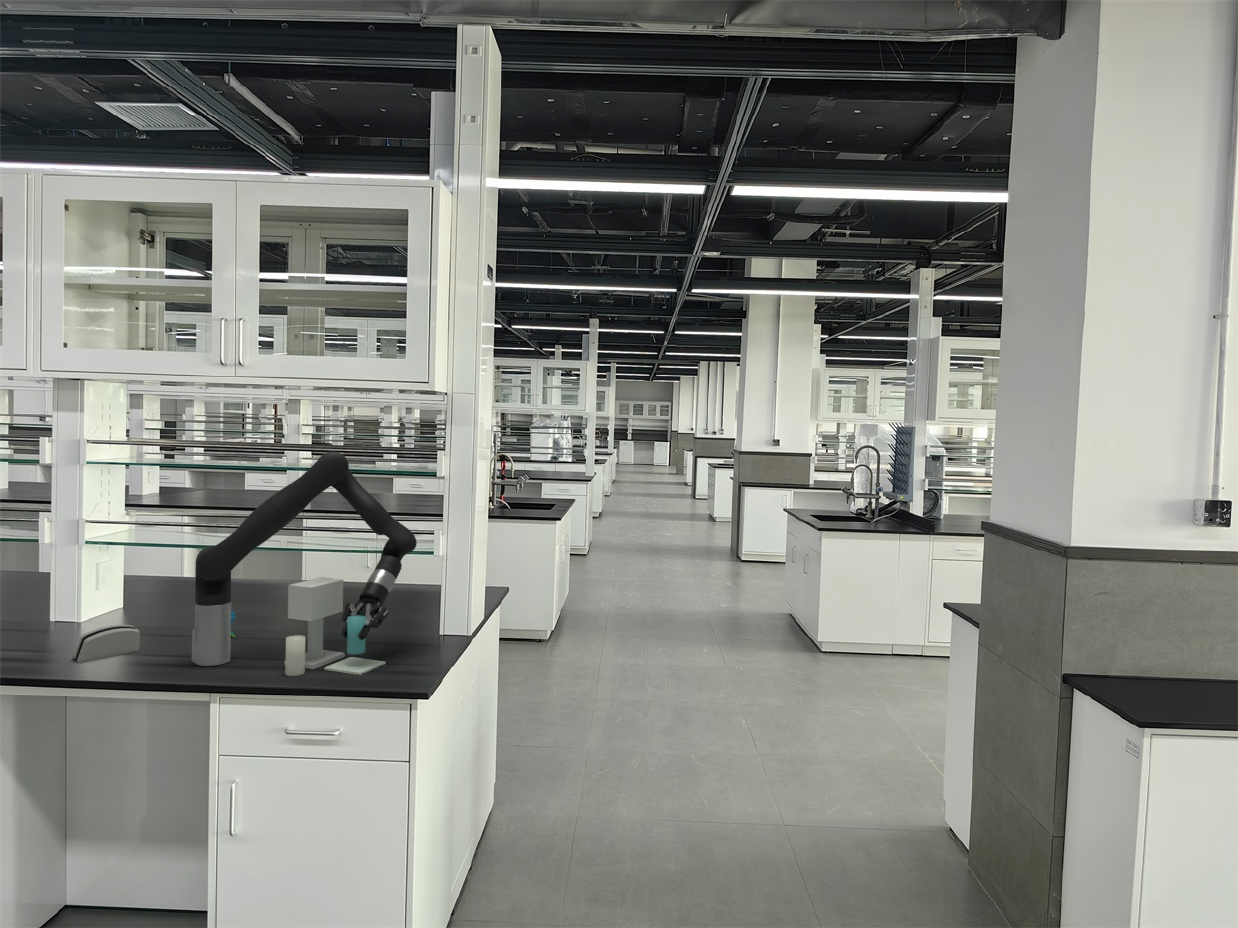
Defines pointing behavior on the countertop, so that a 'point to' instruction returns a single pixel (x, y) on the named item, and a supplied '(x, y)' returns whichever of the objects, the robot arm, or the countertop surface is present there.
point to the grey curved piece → (107, 642)
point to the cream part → (295, 655)
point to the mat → (355, 665)
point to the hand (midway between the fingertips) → (352, 637)
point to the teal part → (355, 634)
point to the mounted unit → (316, 614)
